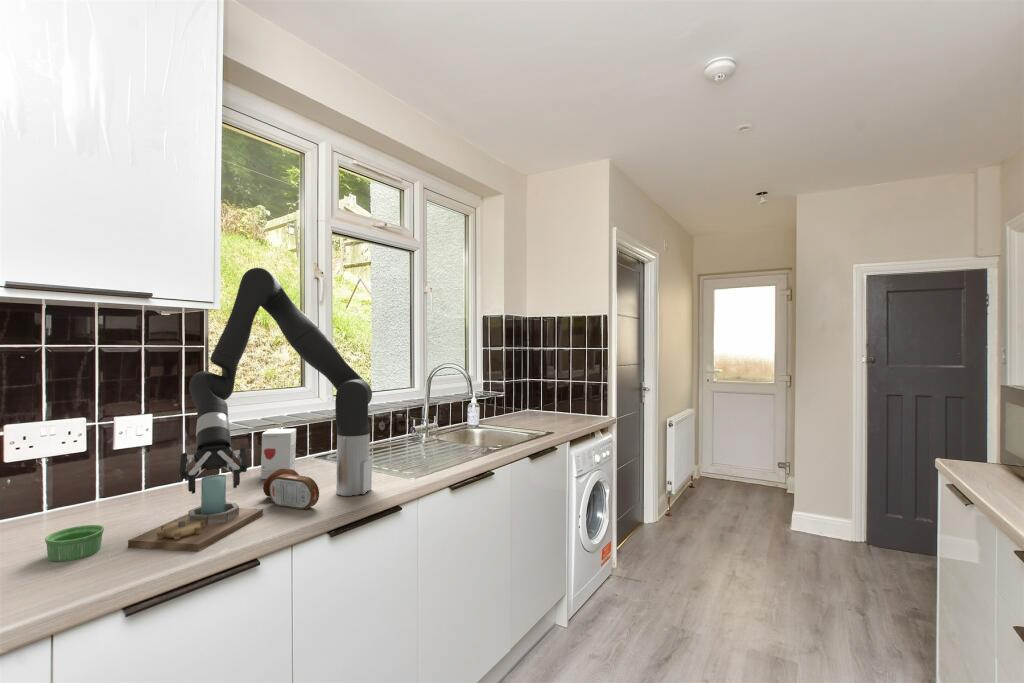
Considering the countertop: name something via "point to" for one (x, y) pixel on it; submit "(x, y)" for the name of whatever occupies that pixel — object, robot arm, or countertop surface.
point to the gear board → (196, 529)
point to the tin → (294, 491)
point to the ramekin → (74, 543)
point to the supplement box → (277, 451)
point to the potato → (275, 474)
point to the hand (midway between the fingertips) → (214, 489)
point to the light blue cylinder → (213, 494)
